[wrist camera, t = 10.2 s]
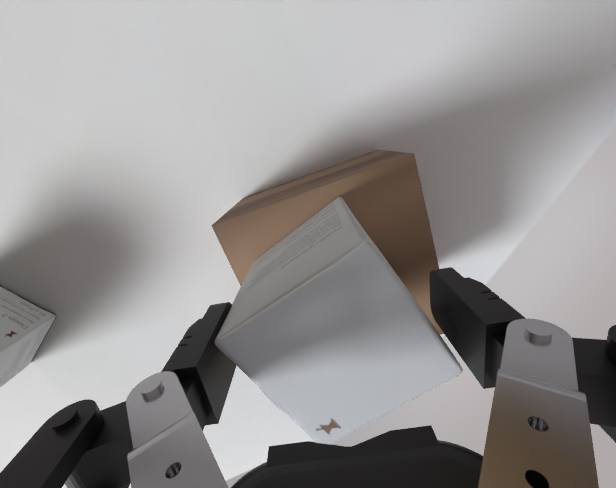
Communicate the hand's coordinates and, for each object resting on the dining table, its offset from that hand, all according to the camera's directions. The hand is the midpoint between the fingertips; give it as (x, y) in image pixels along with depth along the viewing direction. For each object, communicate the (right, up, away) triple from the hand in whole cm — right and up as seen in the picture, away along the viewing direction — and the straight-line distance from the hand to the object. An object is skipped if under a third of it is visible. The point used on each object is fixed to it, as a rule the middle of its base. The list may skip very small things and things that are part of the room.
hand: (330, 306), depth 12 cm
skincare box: (0, +1, +5) cm, 5 cm away
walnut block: (+1, +3, +12) cm, 13 cm away
